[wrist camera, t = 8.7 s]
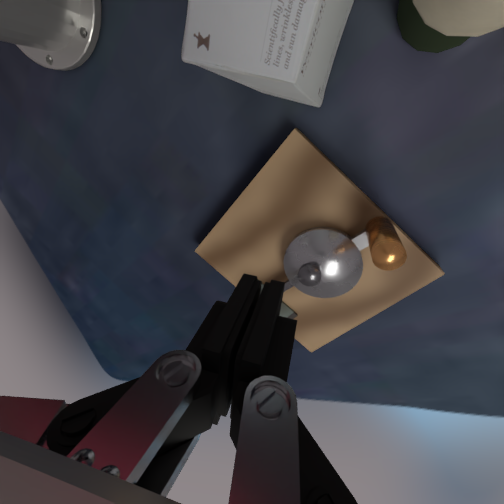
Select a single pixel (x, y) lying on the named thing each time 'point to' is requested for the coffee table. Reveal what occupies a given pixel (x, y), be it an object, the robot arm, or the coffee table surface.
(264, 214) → the stand
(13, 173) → the coffee table surface
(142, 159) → the coffee table surface
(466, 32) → the character mug
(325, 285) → the cam capstan
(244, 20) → the skincare box
